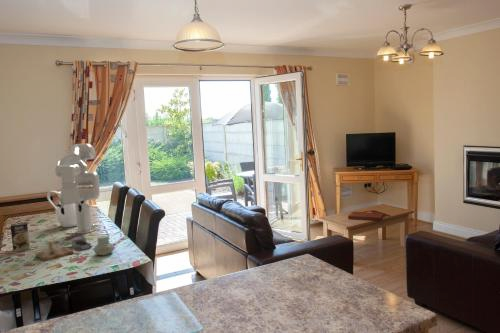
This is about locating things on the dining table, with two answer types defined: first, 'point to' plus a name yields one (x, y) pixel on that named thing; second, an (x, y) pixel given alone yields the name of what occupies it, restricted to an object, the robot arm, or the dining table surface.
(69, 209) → the pitcher
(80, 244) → the open ended gray sleeve
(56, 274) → the dining table surface
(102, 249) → the air freshener
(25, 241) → the coffee box
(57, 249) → the board
